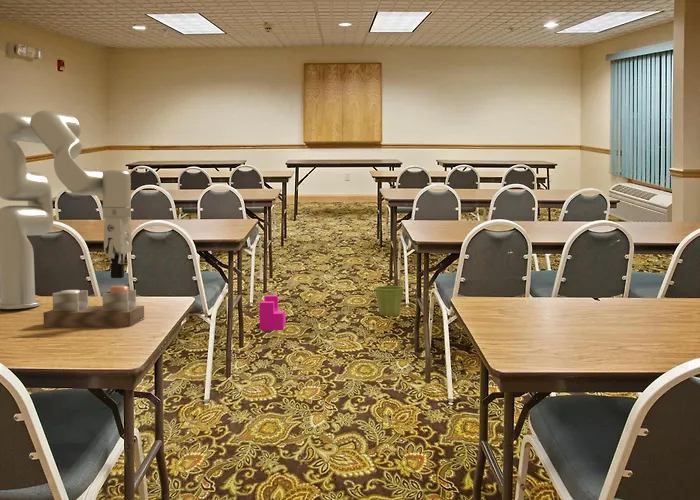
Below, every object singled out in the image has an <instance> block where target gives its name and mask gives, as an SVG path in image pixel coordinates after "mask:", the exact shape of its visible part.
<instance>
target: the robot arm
mask: <svg viewBox="0 0 700 500" xmlns="http://www.w3.org/2000/svg"><path fill="white" fill-rule="evenodd" d="M80 124H81V123H79V120H78V119H77V118H76V117H75V116H73V115H71V114H68V113H64V112H60V111H59V112H58V111H54V110H53V111H52V110H48V109H47V110H45V109H44V110H39V111H36V112H35V113H33V114H29V113H22V112H19V111H18V112H15V111H3V112H0V199H2V200H4V201H9V202H27V205H7V206H3V207H0V310H15V309H16V310H18V309H19V310H20V309H28V308H35V307H39V306H41V305H42V303H41V300H36V284H35V256H34V255H35V254H34V248H33V245H32V243H31V241H30V240H29V238H28V237H30V236H43V235H46V234H48V233H50V232H51V230H52V228H53V226H54V209H53V207H54V206H53V193H52V186H51V183H50V181H49V179H48V178H47V177H46V176H45V175H44V174H42V173H40V172H38V171H28V168H27V160H26V155H25V153H24V151H23V149H22V148H21V146H20V145H19V144H18V142H19V141H20V142H25V143H33V144H34V143H35V144H43V145H44V146H45V147H46V148H47V149H48V151H49V152H50V153H51V154H52V155H53V156H54V158H53V168H54V173H55V175H56V177H57V178H58V180H59V181H60V182H61V184H63V185H64V187H65V188H66V189H67V190H68V191H69V192H71V193H73V194H75V195H78V196H93V197H102V219H103V220H104V228H103V251H104V253H105V254H107V257H108V259H109V263H110V278H111V279H123V278H124V277H125V258H126V256H127V254H129V253H130V252H132V250H133V240H132V239H133V238H132V225H131V221H130V220H131V219H132V201H131V200H132V193H131V192H132V191H131V189H132V187H131V186H132V185H131V184H132V183H131V182H132V181H131V180H132V178H131V173H130V172H129V171H127V170H120V169H119V170H118V169H108V170H107V169H106V170H104V169H93V168H82V167H80V166H79V165H78V163H77V162H76V160H75V159H76V158H77V157H78V156H79V155H80V154H81V153H82V150H83V144H82V142H81V140H80V139H79V138H80V135H81V129H82V128H81V125H80Z"/></svg>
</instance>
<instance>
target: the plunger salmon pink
mask: <svg viewBox="0 0 700 500" xmlns="http://www.w3.org/2000/svg"><path fill="white" fill-rule="evenodd" d="M129 290H130V287H129V286H128V285H112V286H109V291H110V293H127V292H129Z"/></svg>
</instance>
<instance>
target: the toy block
mask: <svg viewBox="0 0 700 500" xmlns="http://www.w3.org/2000/svg"><path fill="white" fill-rule="evenodd" d="M258 304H259V305H258V308H259V309H258V311H259V313H258V314H259V317H258V318H259V331H260V332H261V331H263V332H264V331H284V329H285V327H286V324H287V321H286V319H287V318H286V315H287V311H285V310H281V311H279V295H277V294H276V295H274V294H273V295H264V299H263V301H259V303H258Z"/></svg>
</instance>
